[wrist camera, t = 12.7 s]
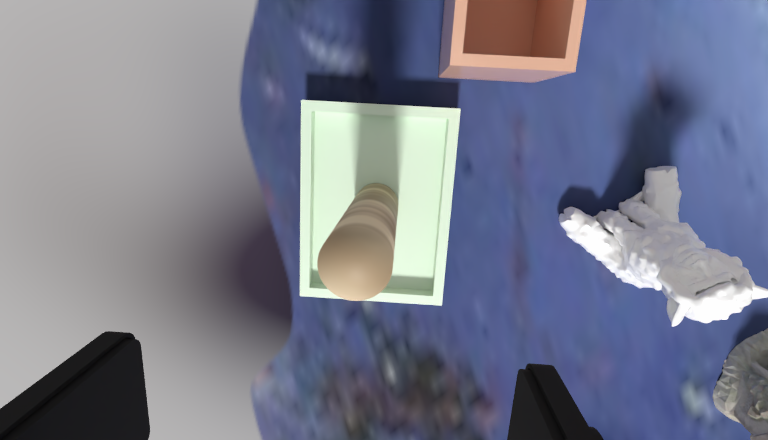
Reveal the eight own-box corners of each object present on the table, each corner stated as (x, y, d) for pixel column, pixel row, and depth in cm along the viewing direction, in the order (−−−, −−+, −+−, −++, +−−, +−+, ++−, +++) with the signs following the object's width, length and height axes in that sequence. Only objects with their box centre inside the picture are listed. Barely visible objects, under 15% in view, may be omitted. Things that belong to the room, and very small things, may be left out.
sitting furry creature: (662, 157, 33) (801, 178, 22) (699, 247, 35) (847, 312, 23) (552, 212, 35) (627, 260, 23) (592, 296, 37) (682, 381, 25)
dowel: (355, 181, 34) (318, 226, 19) (399, 184, 34) (395, 231, 19) (353, 224, 35) (316, 297, 20) (396, 227, 35) (390, 303, 20)
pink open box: (446, -28, 31) (462, -77, 23) (547, -24, 31) (597, -71, 23) (438, 77, 33) (449, 65, 25) (533, 82, 32) (575, 72, 25)
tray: (306, 100, 33) (301, 99, 32) (457, 109, 33) (460, 108, 31) (305, 286, 37) (299, 296, 35) (439, 295, 37) (441, 305, 35)
